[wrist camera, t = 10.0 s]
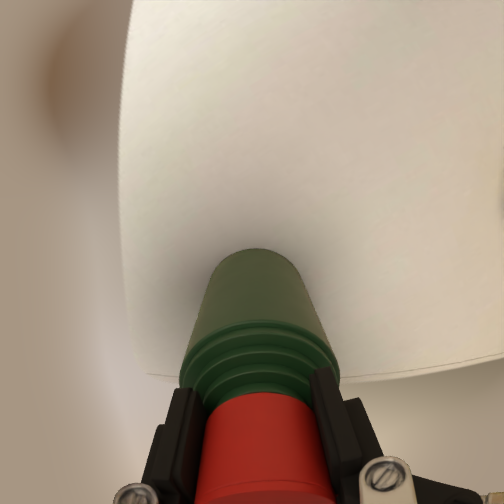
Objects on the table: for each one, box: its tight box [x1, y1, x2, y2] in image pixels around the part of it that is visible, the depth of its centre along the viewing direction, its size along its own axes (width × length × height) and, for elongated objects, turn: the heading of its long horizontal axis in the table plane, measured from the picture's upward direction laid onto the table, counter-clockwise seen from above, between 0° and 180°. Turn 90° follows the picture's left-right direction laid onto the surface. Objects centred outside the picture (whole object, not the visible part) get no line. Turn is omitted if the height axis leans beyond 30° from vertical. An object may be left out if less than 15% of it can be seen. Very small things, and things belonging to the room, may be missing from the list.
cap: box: [194, 392, 338, 504], centre depth 8 cm, size 4×4×4 cm
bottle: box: [179, 249, 340, 418], centre depth 14 cm, size 6×6×16 cm
